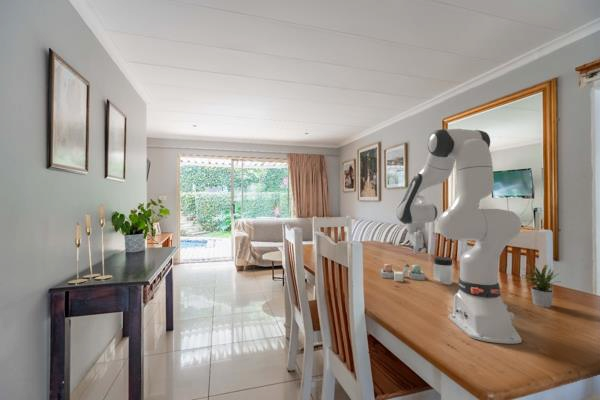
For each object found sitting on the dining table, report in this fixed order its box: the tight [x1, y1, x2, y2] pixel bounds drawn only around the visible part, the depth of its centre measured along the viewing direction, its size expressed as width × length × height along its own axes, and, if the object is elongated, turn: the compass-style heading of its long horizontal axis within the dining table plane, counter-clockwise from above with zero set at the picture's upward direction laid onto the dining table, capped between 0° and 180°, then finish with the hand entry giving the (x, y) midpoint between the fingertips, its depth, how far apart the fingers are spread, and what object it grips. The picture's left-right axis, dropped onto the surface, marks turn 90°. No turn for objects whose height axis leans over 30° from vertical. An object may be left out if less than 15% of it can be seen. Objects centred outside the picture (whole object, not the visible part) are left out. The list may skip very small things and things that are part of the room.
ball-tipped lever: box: [401, 263, 410, 278], centre depth 147 cm, size 2×2×7 cm
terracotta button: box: [383, 263, 393, 272], centre depth 149 cm, size 4×4×4 cm
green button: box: [411, 264, 421, 274], centre depth 146 cm, size 4×4×4 cm
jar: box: [433, 256, 454, 286], centre depth 142 cm, size 9×8×12 cm
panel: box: [380, 268, 426, 281], centre depth 145 cm, size 14×22×4 cm, turn 77°
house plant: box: [519, 263, 561, 308], centre depth 113 cm, size 14×14×16 cm
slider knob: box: [393, 271, 404, 283], centre depth 142 cm, size 4×4×4 cm
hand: (415, 253), depth 146 cm, fingers closed
